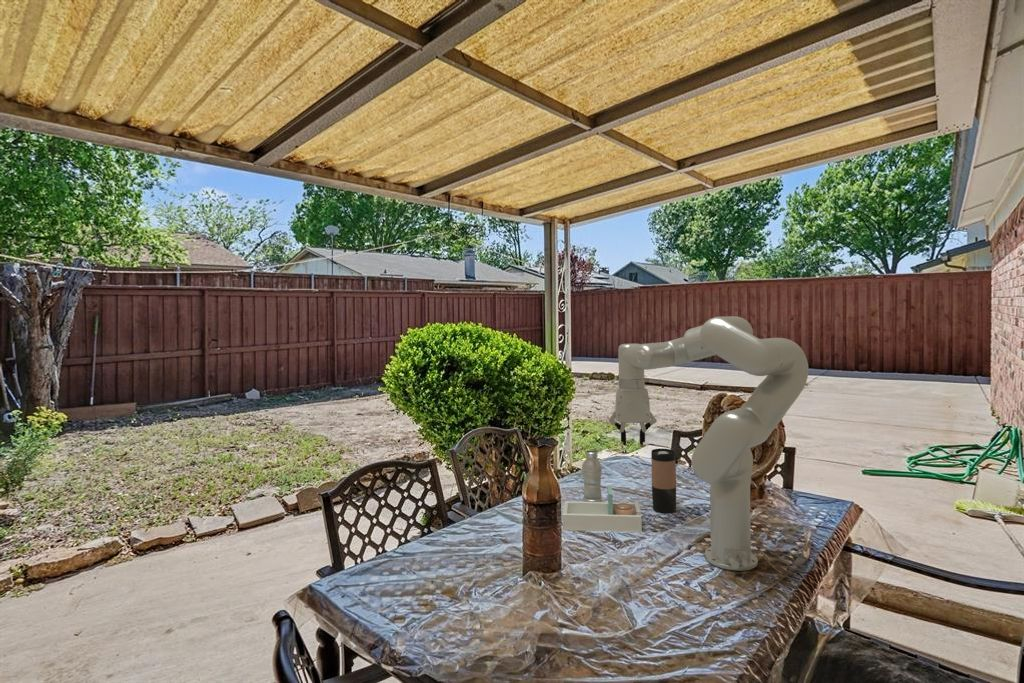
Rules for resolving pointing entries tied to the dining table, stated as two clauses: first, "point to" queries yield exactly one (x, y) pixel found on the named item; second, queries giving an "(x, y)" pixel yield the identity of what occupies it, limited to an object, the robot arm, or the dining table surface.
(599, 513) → the white open tray
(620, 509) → the terracotta jar
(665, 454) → the travel mug
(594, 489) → the plastic bottle
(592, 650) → the dining table surface
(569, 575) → the dining table surface
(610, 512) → the pusher
